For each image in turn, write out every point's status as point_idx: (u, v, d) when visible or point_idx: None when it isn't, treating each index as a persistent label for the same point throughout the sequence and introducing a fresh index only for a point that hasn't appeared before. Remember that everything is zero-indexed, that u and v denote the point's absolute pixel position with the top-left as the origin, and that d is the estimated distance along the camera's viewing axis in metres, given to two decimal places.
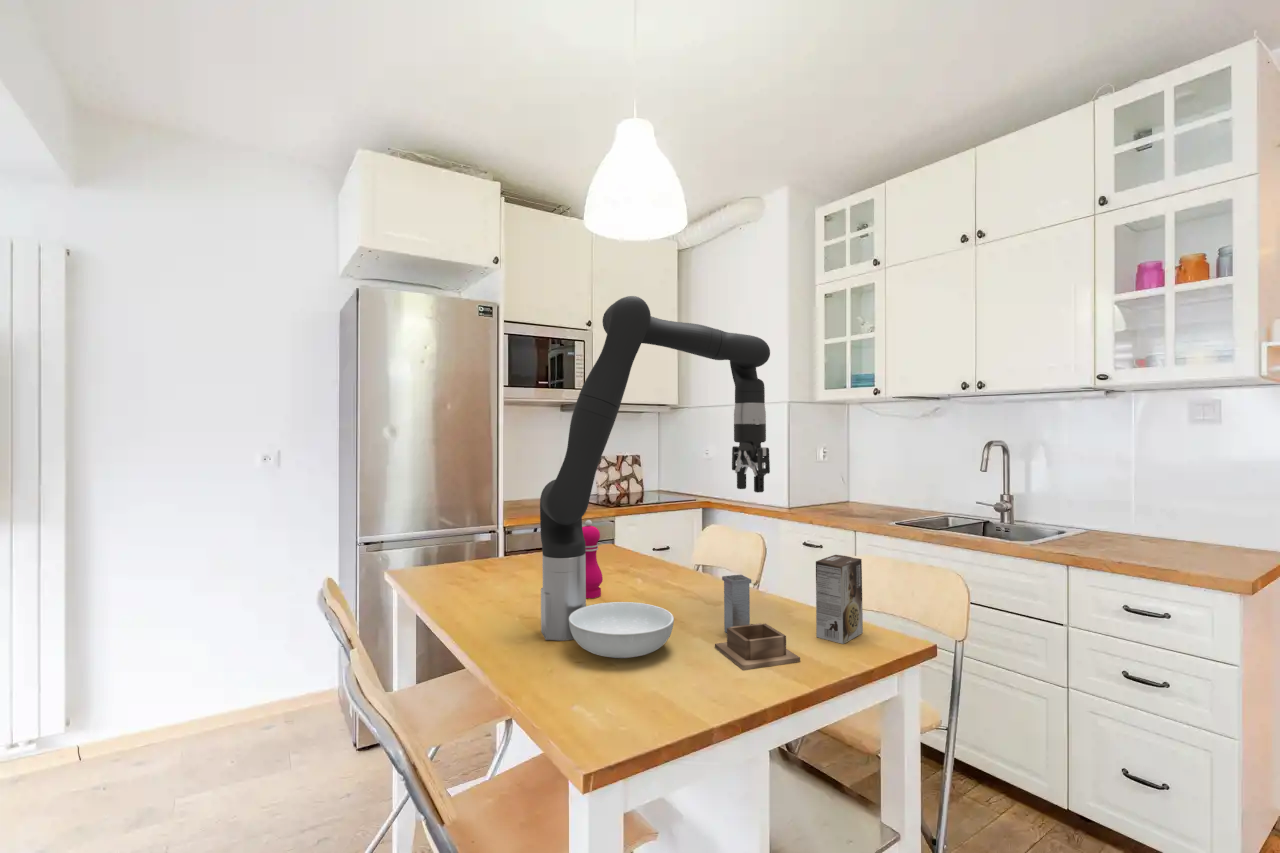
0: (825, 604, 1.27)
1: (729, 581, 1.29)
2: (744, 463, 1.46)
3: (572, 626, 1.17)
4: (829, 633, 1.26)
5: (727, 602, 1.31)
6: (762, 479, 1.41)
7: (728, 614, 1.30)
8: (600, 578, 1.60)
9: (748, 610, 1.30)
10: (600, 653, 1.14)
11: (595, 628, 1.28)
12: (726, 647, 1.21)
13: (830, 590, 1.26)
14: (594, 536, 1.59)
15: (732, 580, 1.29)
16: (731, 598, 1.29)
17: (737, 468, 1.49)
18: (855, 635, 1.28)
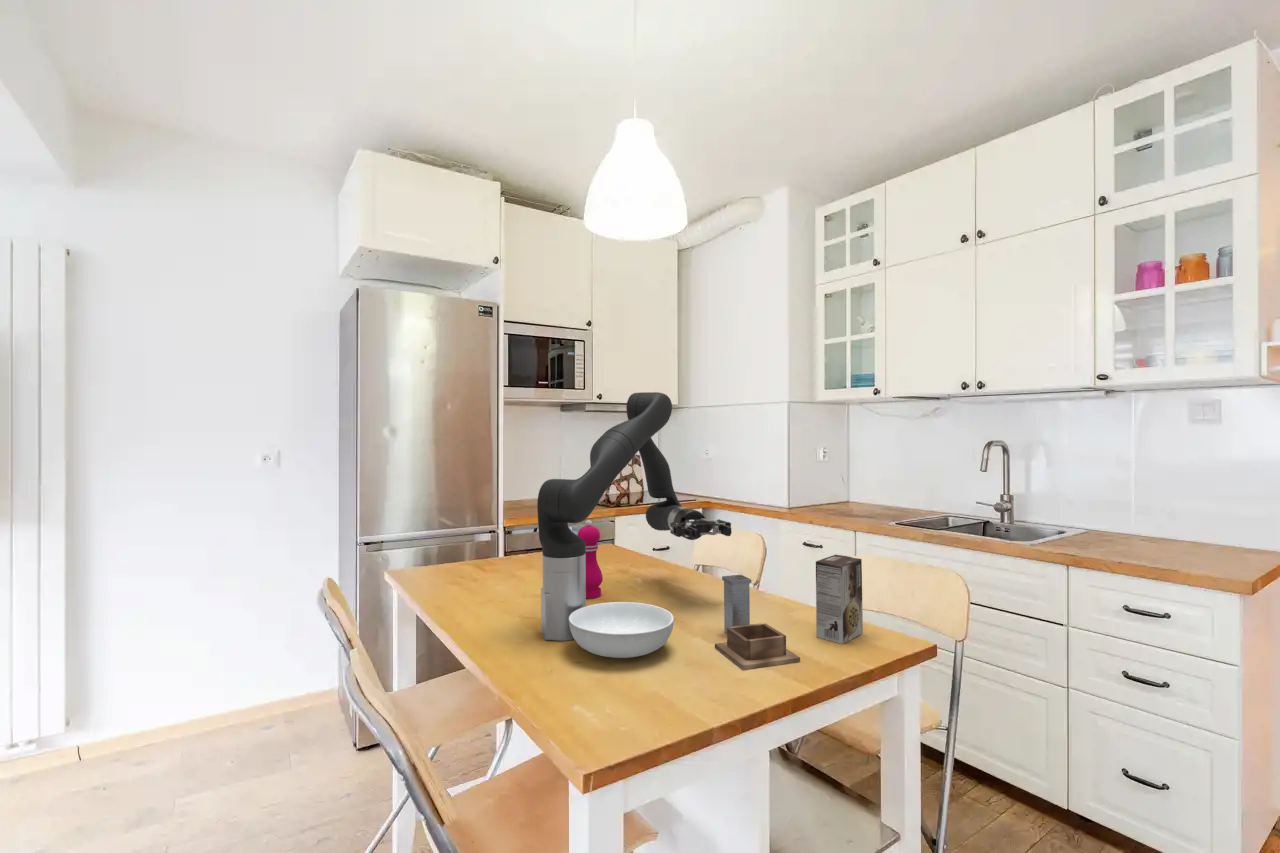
0: (825, 604, 1.27)
1: (729, 581, 1.29)
2: (698, 524, 1.48)
3: (572, 626, 1.17)
4: (829, 633, 1.26)
5: (727, 602, 1.31)
6: None
7: (728, 614, 1.30)
8: (600, 578, 1.60)
9: (748, 610, 1.30)
10: (600, 653, 1.14)
11: (595, 628, 1.28)
12: (726, 647, 1.21)
13: (830, 590, 1.26)
14: (594, 536, 1.59)
15: (732, 580, 1.29)
16: (731, 598, 1.29)
17: (688, 525, 1.46)
18: (855, 635, 1.28)
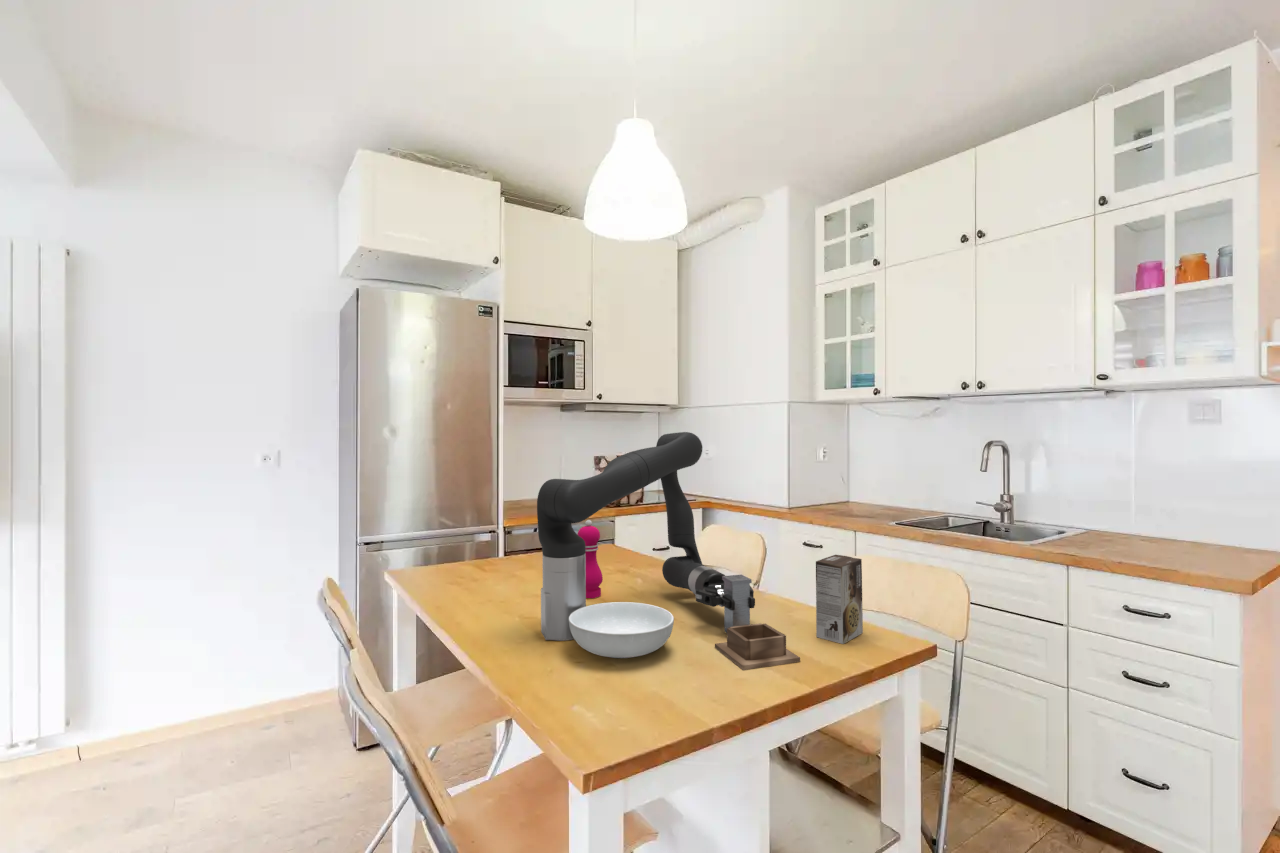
0: (825, 604, 1.27)
1: (729, 581, 1.29)
2: None
3: (572, 626, 1.17)
4: (829, 633, 1.26)
5: None
6: None
7: (728, 614, 1.30)
8: (600, 578, 1.60)
9: (748, 610, 1.30)
10: (600, 653, 1.14)
11: (595, 628, 1.28)
12: (726, 647, 1.21)
13: (830, 590, 1.26)
14: (594, 536, 1.59)
15: (732, 580, 1.29)
16: (731, 598, 1.29)
17: (721, 593, 1.32)
18: (855, 635, 1.28)
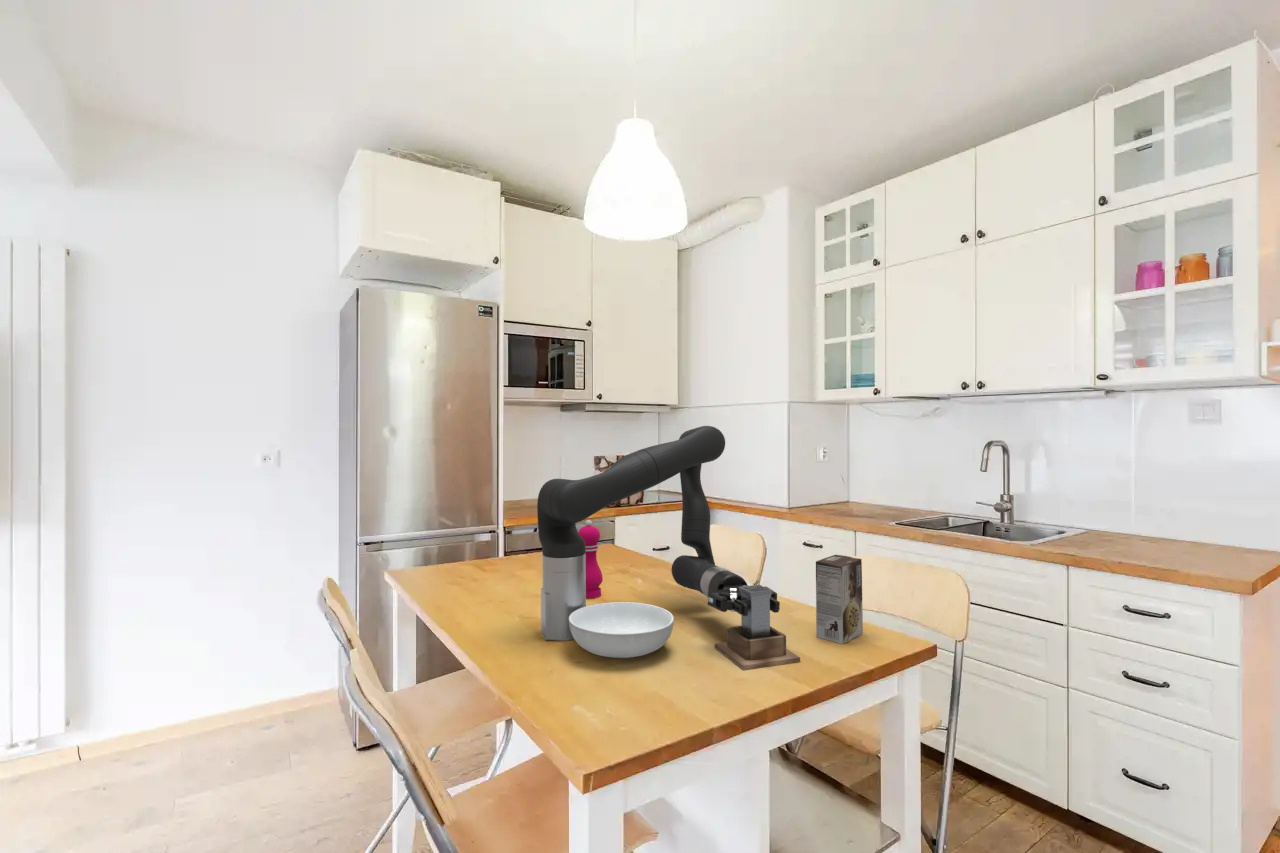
0: (825, 604, 1.27)
1: (747, 592, 1.17)
2: None
3: (572, 626, 1.17)
4: (829, 633, 1.26)
5: None
6: None
7: (746, 629, 1.18)
8: (600, 578, 1.60)
9: (768, 624, 1.18)
10: (600, 653, 1.14)
11: (595, 628, 1.28)
12: (726, 647, 1.21)
13: (830, 590, 1.26)
14: (594, 536, 1.59)
15: (751, 591, 1.17)
16: (750, 611, 1.17)
17: (734, 597, 1.20)
18: (855, 635, 1.28)
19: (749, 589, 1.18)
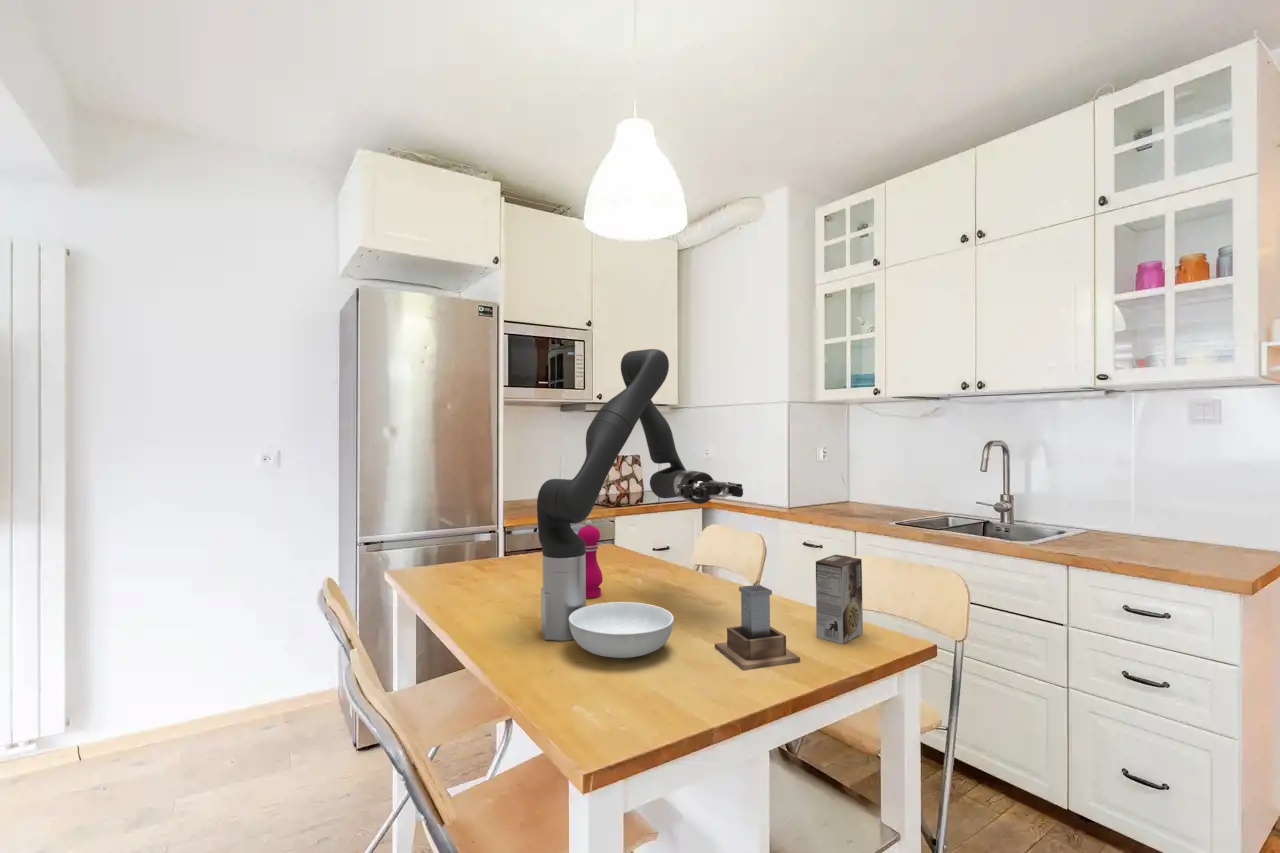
0: (825, 604, 1.27)
1: (747, 592, 1.17)
2: (707, 485, 1.38)
3: (572, 626, 1.17)
4: (829, 633, 1.26)
5: (745, 615, 1.19)
6: None
7: (746, 629, 1.18)
8: (600, 578, 1.60)
9: (768, 624, 1.18)
10: (600, 653, 1.14)
11: (595, 628, 1.28)
12: (726, 647, 1.21)
13: (830, 590, 1.26)
14: (594, 536, 1.59)
15: (751, 591, 1.17)
16: (750, 611, 1.17)
17: (696, 486, 1.36)
18: (855, 635, 1.28)
19: (749, 589, 1.18)
